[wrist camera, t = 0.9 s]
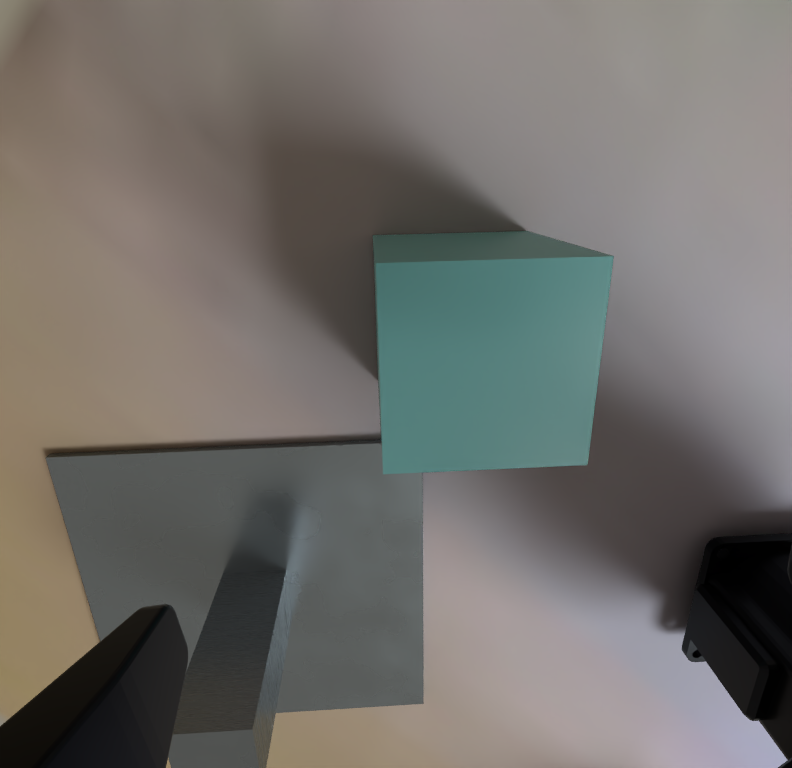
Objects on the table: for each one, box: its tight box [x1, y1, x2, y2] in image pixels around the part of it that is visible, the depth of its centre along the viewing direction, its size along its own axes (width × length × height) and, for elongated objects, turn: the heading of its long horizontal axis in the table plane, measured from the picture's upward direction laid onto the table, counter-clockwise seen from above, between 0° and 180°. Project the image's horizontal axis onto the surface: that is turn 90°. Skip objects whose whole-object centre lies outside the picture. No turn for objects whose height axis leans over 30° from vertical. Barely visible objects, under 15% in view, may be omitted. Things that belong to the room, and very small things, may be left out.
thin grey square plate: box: [46, 440, 423, 768], centre depth 19 cm, size 14×14×7 cm
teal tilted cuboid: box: [373, 231, 614, 474], centre depth 15 cm, size 5×5×7 cm
